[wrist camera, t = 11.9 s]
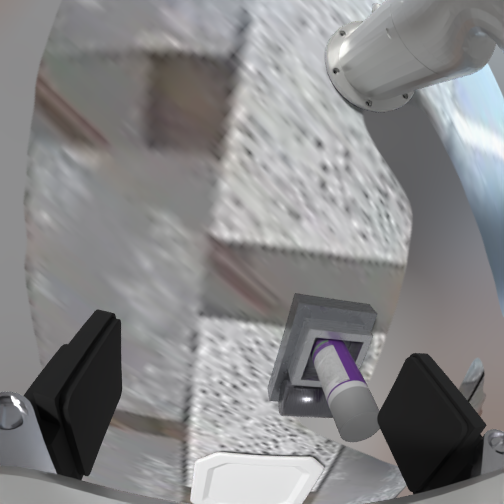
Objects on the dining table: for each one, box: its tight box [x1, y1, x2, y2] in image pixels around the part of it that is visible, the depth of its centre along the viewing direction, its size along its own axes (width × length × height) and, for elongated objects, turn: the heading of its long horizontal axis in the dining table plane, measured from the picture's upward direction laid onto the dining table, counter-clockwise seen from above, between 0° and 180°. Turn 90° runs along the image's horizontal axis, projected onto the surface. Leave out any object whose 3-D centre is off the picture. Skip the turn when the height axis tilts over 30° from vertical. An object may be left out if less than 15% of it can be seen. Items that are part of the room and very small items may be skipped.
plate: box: [190, 452, 324, 504], centre depth 53 cm, size 25×25×2 cm
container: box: [310, 338, 380, 442], centre depth 34 cm, size 5×5×15 cm
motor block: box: [268, 293, 377, 418], centre depth 40 cm, size 16×11×8 cm
